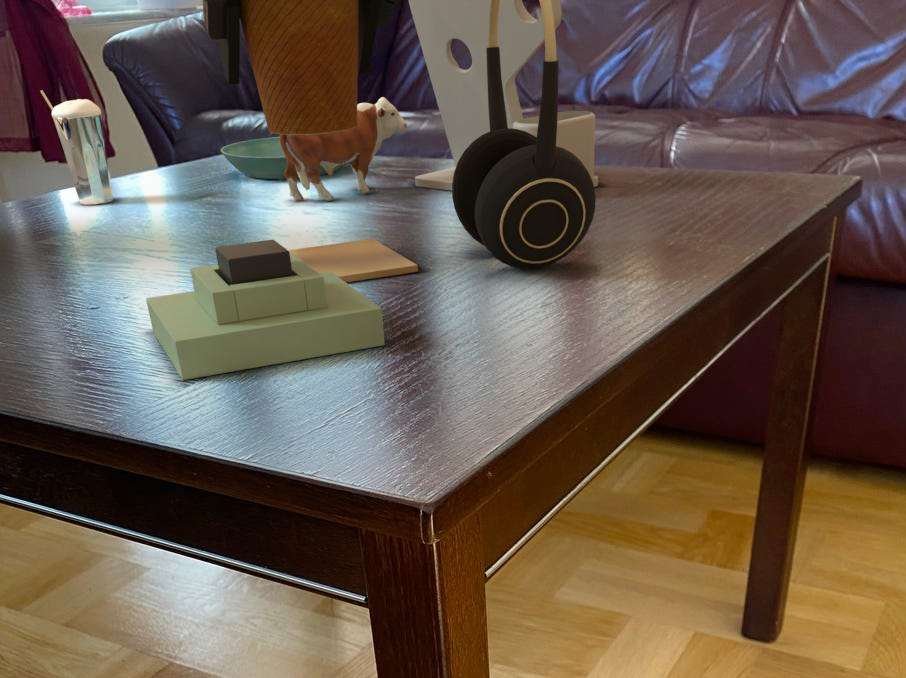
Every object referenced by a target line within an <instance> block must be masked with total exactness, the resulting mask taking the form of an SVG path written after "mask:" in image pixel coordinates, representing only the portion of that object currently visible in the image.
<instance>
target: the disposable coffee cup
mask: <svg viewBox="0 0 906 678" xmlns="http://www.w3.org/2000/svg"><path fill="white" fill-rule="evenodd" d="M358 1H359V0H238V3H239V6H240V25H241V29H242V32H243V37H244V40H245V43H246V44H245V45H246V48H247V52H248V55H249V60H250V64H251V68H252V72H253V75H254V80H255V83H256V87H257V92H258V95H259V99H260V103H261V106H262V111H263V115H264V119H265V122H266V123H265V124H266V126H267V131H268V133H271V134H275V135H280V134H282V135H309V134H325V133H332V132H339V131H346V130H349V129H352V128H355V127H356V126H357V105H358V91H359V90H358V86H359V85H358V80H359V79H358V78H359V76H358V75H359V73H358V10H359V2H358Z"/></svg>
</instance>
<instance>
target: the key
mask: <svg viewBox="0 0 906 678" xmlns="http://www.w3.org/2000/svg"><path fill="white" fill-rule="evenodd" d="M214 250H215V255H216V261H217V264H218V267H219V273H220V277H221V278H222V279H223V280H224V281H225V282H226V283H227V284H228V285H229V286H230V285H235V284H241V283H248V282H255V281H262V280H269V279H276V278H283V277H290V276H293V274H292V267H291V259H290V252H289V251H288V250H289V249H287V248H285V247H284V246H283V245H282V244H281V243H279V242H278V241H276V240H275V239H266V240H259V241H251V242H244V243H235V244H229V245H222V246H216V247H215V249H214Z"/></svg>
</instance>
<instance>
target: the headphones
mask: <svg viewBox="0 0 906 678" xmlns="http://www.w3.org/2000/svg"><path fill="white" fill-rule="evenodd" d="M499 6H500V0H491V2H490V11H489V26H488V48H486V51H487V83H488V108H489V124H490V132H488V133H485V134H483V135H481V136H480V137H479V138H477V139H476V140H475V141H473V142H472V143H471V144H470V145H469V147H468V148H467V149H466V150H465V151H464V152H463V154H462V156H461V157H460V159H459V161H458V163H457V166H456V169H455V171H454V176H453V182H452V191H451V197H452V203H453V208H454V211H455V213H456V215H457V219H458V221H459V222H460V224H461V226H462V227H463V228H464V230H465V231H466V232H467V234H468V235H469V236H470V237H471V238H472V239H474V241H476V242H478V244H480V245H482V246H484V247H485V249H486V250H487V251H488V252H489V254H491V255H492V256H493V257H494V259H496V260H497V261H499V262H501V263H502V264H504V265H507V266H509V267H511V268H516V269H521V270H535V269H539V268H544V267H547V266H551V265H552V264H555V263H556V262H558V261H560V260H562V259H563V258H565V257H567V256H568V255H569V254H570V253H571V252H573V251H574V250H575V249H576V248H577V247H578V246H579V244H580V243H582V242H583V240H584V238H585V236H586V235H587V233H588V232H589V230H590V227H591V225H592V223H593V220H594V215H595V211H596V202H597V201H596V200H597V199H596V198H597V197H596V191H595V187H594V184H593V181H592V179H591V176H590V174H589V172H588V171H587V169H586V168H585V166H584V165H583V163H582V162H581V161H580V159H578V158H577V157H576V156H575V155H574V154H573V153H571V152H569V151H567V150H565V149H564V148H561V147H557V146H556V137H557V115H558V112H559V109H558V108H559V60H558V59H557V40H556V29H555V27H554V18H553V11H552V5H551V0H540V2H539V6H540V13H541V12H542V19H543V27H544V37H545V42H544V49H545V51H544V60H543V62H542V82H541V99H540V106H539V107H540V108H539V115H538V116H539V123H538V131H537V137H536V136H534V135H532V134H530V133H528V132H526V131H522V130H518V129H512V128H508V125H507V117H506V109H505V102H504V94H503V86H502V79H501V65H500V50H499V47H498V41H497V33H498V16H499Z"/></svg>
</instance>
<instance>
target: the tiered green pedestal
mask: <svg viewBox="0 0 906 678" xmlns="http://www.w3.org/2000/svg"><path fill="white" fill-rule="evenodd" d="M290 259H291V267H292V274H293V276H290V277H283V278H276V279H269V280H262V281H255V282H248V283H241V284H235V285H230V286H229V285H228V284H227V283H226V282H225V281H224V280H223V279H222V278H221V277H220V273H219V267H218V263H217V264H210V265H203V266H196V267H195V266H194V267H190V268H189V271H190V276H191V280H192V286H193V290H191V291H185V292H179V293H172V294H166V295H165V294H164V295H158V296H152V297H145V300H146V306H147V311H148V315H149V319H150V325H151V328H152V329H151V330H152V333H153V335H154V337H155V338H156V340H157V341H158V343H159V344H160V346H161V347H162V349H163V351H164V352H165V354H166V355H167V357H168V359H169V360H170V362H171V363H172V365H173V367H174V368H175V370H176V371H177V373H178V375H179V376H180V378H181V379H182V380H183V381H186V380H192V379H198V378H204V377H209V376H215V375H222V374H226V373H232V372H238V371H244V370H249V369H256V368H261V367H267V366H273V365H278V364H284V363H289V362H290V363H291V362H295V361H296V362H297V361H301V360H307V359H313V358H318V357H326V356H330V355H337V354H343V353H347V352H354V351H359V350H364V349H365V350H366V349H372V348H377V347H382V346H385V344H386V343H385V334H384V333H385V331H384V322H383V321H384V320H383V311H382V310H383V309H382V308H381V307H380V306H379V305H377V304H376V303H375V302H373V301H372V300H370V299H369V298H368V297H366V295H364V294H362V293H361V292H360V291H358V290H357V289H355V288H354V287H353V286H352V285H350V284H349V283H348V282H344V281H343V280H342V279H340V278H339V277H338V276H336V275H335V274H333V273H332V272H331V271H329V272H322V273H318V272H317V271H315V270H314V269H313V268H311V267H310V266H309V265H307V264H306V263H305V262H303V261H302V260H301V259H300V258H298V257H297V256H296V255H294V254H290Z"/></svg>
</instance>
